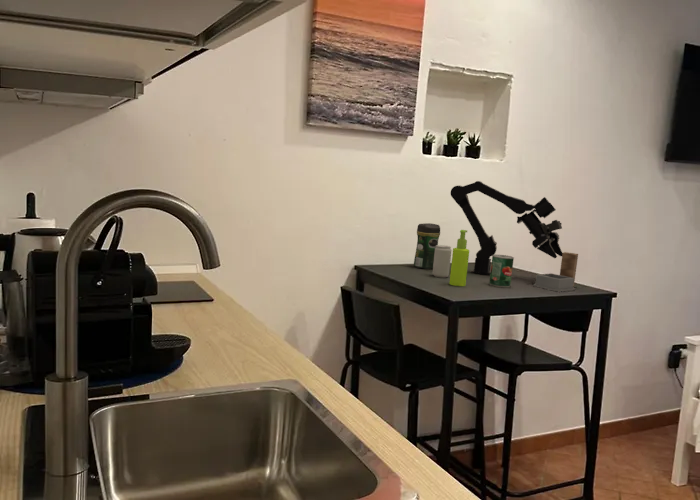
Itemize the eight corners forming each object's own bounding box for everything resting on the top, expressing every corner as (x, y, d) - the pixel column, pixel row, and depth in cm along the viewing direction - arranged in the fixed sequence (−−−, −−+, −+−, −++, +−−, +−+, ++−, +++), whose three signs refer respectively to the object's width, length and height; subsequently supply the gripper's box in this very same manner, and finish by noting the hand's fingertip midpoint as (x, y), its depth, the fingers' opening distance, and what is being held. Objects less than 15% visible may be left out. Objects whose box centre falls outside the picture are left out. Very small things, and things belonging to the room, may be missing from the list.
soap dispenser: (467, 284, 236) (473, 230, 234) (464, 287, 230) (470, 231, 227) (451, 281, 238) (457, 228, 236) (447, 284, 232) (453, 230, 229)
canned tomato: (509, 288, 236) (513, 258, 234) (488, 285, 238) (491, 256, 236) (510, 284, 243) (514, 256, 242) (489, 282, 245) (493, 253, 244)
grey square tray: (558, 291, 237) (560, 279, 236) (533, 285, 245) (534, 274, 244) (574, 290, 244) (576, 278, 243) (549, 284, 252) (551, 273, 251)
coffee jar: (427, 265, 273) (432, 222, 271) (439, 269, 267) (444, 224, 264) (410, 266, 268) (414, 222, 265) (422, 269, 261) (426, 224, 259)
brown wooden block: (558, 285, 251) (562, 252, 249) (560, 284, 254) (565, 252, 253) (571, 287, 248) (575, 254, 247) (573, 286, 252) (578, 253, 250)
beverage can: (449, 278, 245) (453, 247, 244) (433, 277, 245) (436, 246, 244) (447, 275, 252) (450, 245, 250) (431, 274, 252) (434, 244, 250)
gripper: (544, 213, 245) (569, 245, 240) (556, 212, 260) (581, 242, 256) (521, 231, 250) (546, 263, 246) (535, 229, 266) (559, 259, 261)
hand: (559, 256), depth 252 cm, fingers open, 9 cm apart
